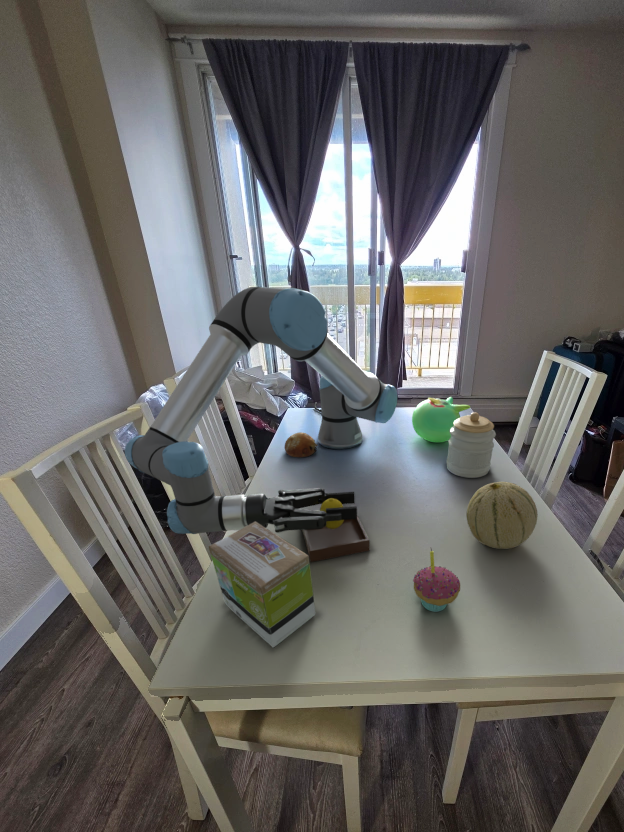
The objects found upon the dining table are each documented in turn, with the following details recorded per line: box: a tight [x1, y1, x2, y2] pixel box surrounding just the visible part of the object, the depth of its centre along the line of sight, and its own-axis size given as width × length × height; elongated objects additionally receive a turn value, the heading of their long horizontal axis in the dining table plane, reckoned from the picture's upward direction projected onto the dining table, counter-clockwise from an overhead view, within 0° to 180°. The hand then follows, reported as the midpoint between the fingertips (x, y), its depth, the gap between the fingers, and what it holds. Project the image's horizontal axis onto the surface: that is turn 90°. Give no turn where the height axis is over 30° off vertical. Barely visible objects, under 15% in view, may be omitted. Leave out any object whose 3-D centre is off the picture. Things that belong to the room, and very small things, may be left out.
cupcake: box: [412, 547, 461, 613], centre depth 74 cm, size 9×8×12 cm
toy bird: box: [411, 396, 471, 444], centre depth 138 cm, size 18×17×15 cm
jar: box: [446, 411, 497, 479], centre depth 118 cm, size 13×13×18 cm
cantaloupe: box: [466, 481, 538, 550], centre depth 89 cm, size 15×15×15 cm
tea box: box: [208, 522, 316, 648], centre depth 71 cm, size 15×10×15 cm, turn 49°
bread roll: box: [284, 431, 319, 458], centre depth 132 cm, size 10×10×8 cm
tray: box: [301, 514, 371, 563], centre depth 93 cm, size 13×13×3 cm
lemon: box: [319, 498, 344, 529], centre depth 90 cm, size 6×6×8 cm
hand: (355, 504), depth 89 cm, fingers closed on lemon, 5 cm apart
